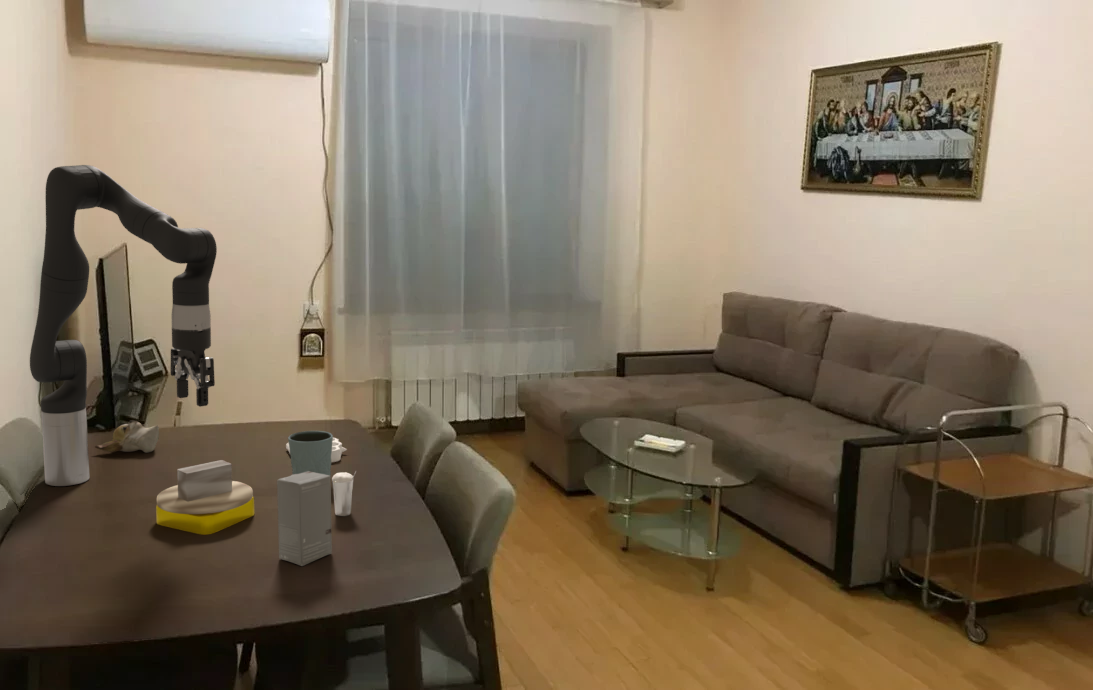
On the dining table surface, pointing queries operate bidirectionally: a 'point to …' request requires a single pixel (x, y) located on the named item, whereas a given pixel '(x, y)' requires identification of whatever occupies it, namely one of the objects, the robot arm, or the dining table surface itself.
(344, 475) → the milkshake
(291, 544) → the skincare box
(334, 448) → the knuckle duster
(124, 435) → the ceramic sculpture
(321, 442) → the blue-grey pot
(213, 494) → the lid
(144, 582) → the dining table surface
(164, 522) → the element tile
